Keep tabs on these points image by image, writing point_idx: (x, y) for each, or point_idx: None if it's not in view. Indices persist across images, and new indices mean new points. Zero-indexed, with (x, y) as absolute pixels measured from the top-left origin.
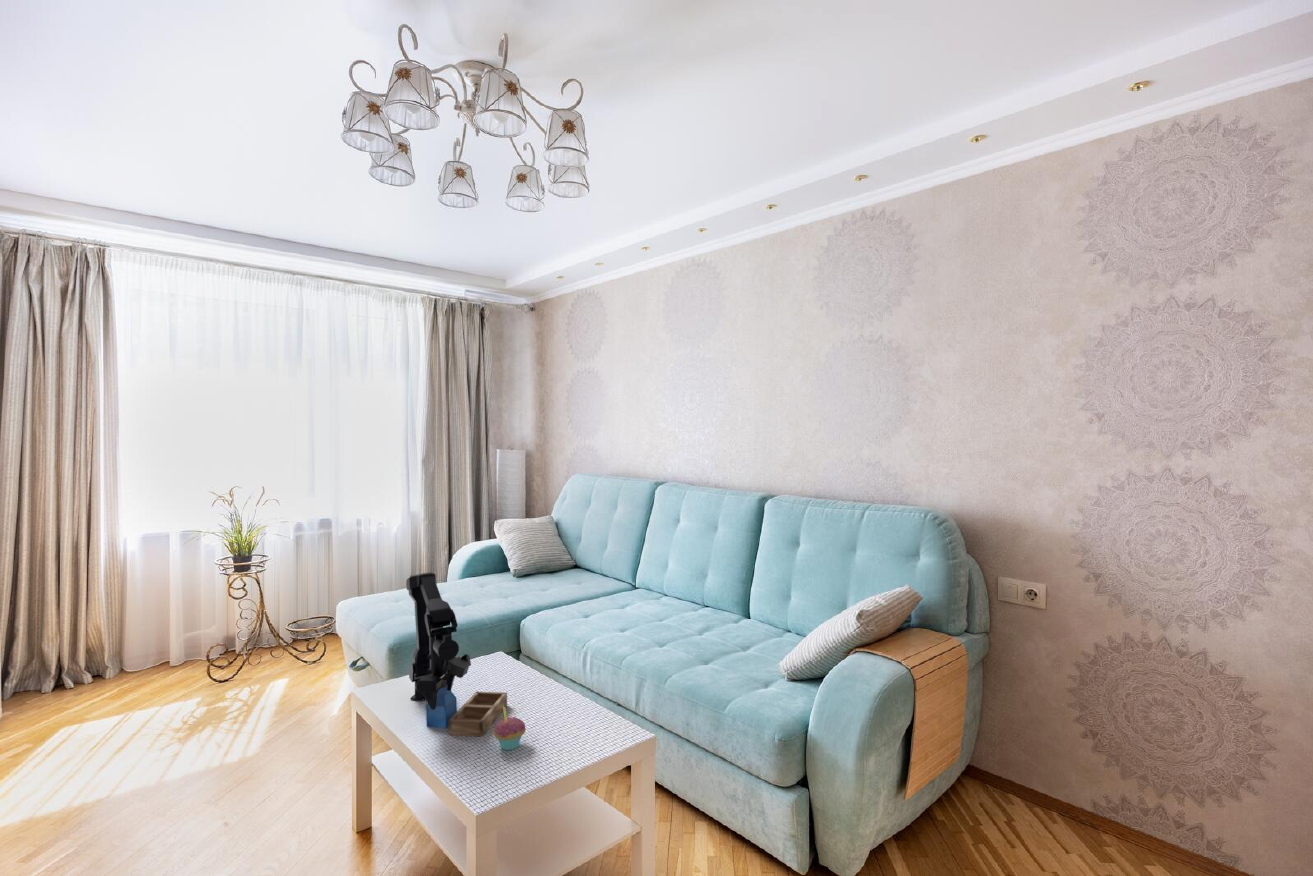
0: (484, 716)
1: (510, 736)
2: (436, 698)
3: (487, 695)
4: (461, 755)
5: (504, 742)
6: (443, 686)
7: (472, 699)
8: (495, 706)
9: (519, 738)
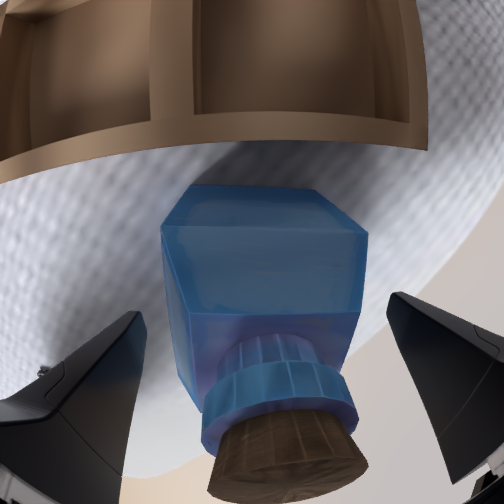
0: None
1: None
2: (460, 331)
3: (1, 100)
4: (488, 54)
5: None
6: (332, 422)
7: (63, 140)
8: None
9: None
